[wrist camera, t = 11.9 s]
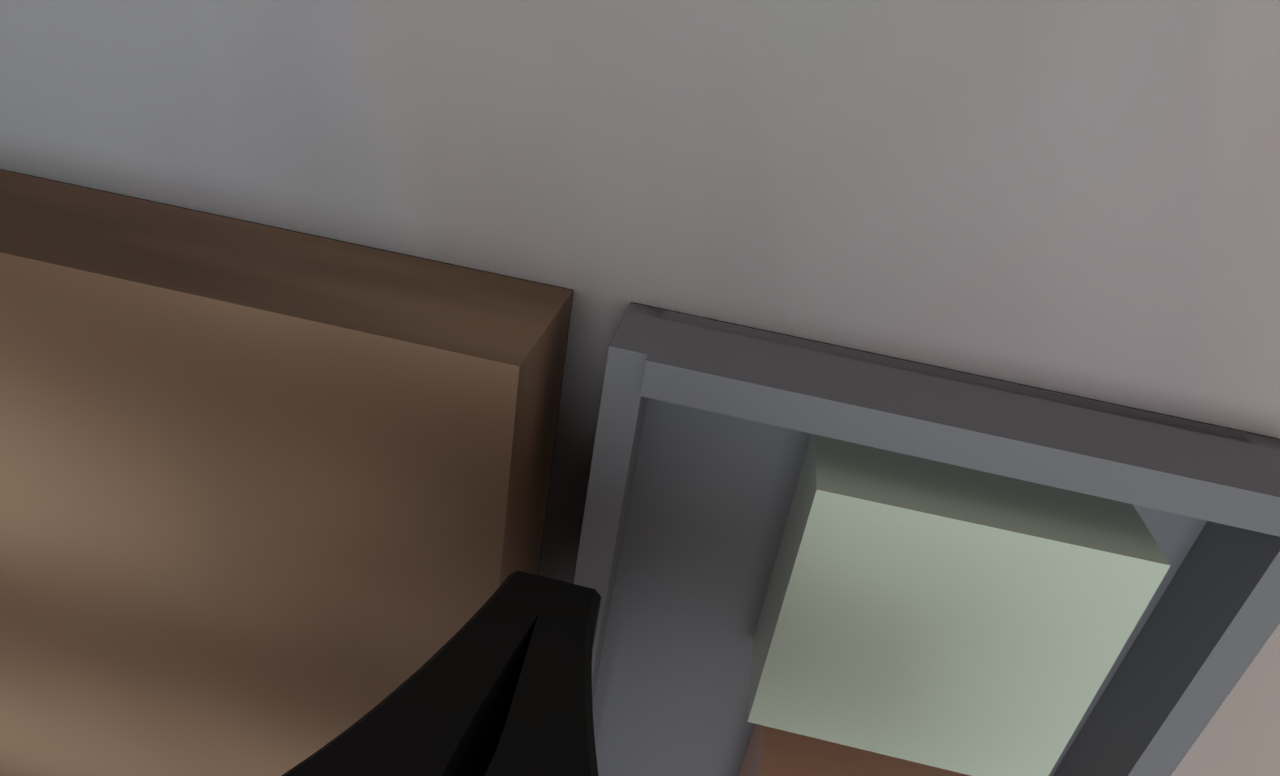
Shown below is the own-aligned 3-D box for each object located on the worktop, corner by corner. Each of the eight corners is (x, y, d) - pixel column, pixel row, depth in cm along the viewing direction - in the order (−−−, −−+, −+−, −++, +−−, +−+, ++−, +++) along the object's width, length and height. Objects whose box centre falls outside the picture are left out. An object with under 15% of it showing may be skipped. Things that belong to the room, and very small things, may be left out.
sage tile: (747, 721, 14) (753, 639, 16) (1039, 791, 14) (1012, 699, 16) (816, 489, 12) (814, 422, 14) (1170, 565, 11) (1122, 486, 13)
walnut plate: (504, 856, 21) (463, 980, 19) (-17, 714, 23) (-125, 813, 20) (573, 290, 14) (519, 365, 11) (-219, 123, 15) (-435, 156, 12)
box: (946, 975, 20) (960, 1070, 19) (541, 866, 21) (518, 947, 20) (1280, 439, 13) (1357, 514, 11) (631, 303, 14) (606, 351, 12)
